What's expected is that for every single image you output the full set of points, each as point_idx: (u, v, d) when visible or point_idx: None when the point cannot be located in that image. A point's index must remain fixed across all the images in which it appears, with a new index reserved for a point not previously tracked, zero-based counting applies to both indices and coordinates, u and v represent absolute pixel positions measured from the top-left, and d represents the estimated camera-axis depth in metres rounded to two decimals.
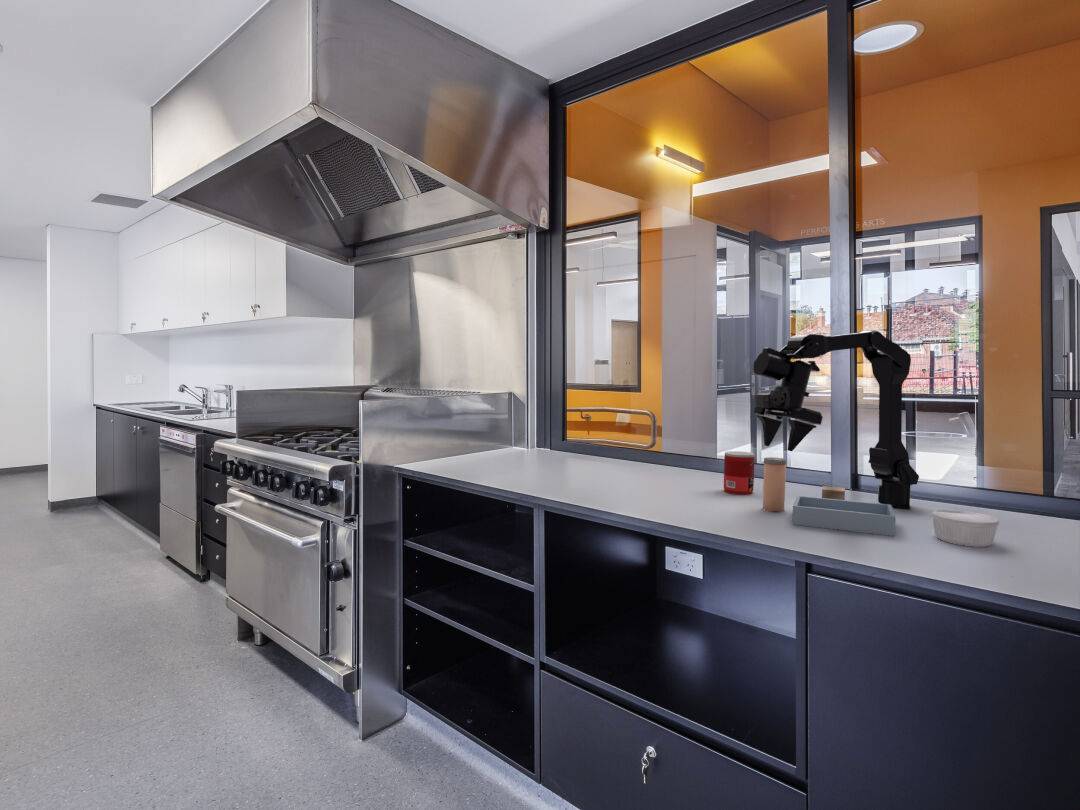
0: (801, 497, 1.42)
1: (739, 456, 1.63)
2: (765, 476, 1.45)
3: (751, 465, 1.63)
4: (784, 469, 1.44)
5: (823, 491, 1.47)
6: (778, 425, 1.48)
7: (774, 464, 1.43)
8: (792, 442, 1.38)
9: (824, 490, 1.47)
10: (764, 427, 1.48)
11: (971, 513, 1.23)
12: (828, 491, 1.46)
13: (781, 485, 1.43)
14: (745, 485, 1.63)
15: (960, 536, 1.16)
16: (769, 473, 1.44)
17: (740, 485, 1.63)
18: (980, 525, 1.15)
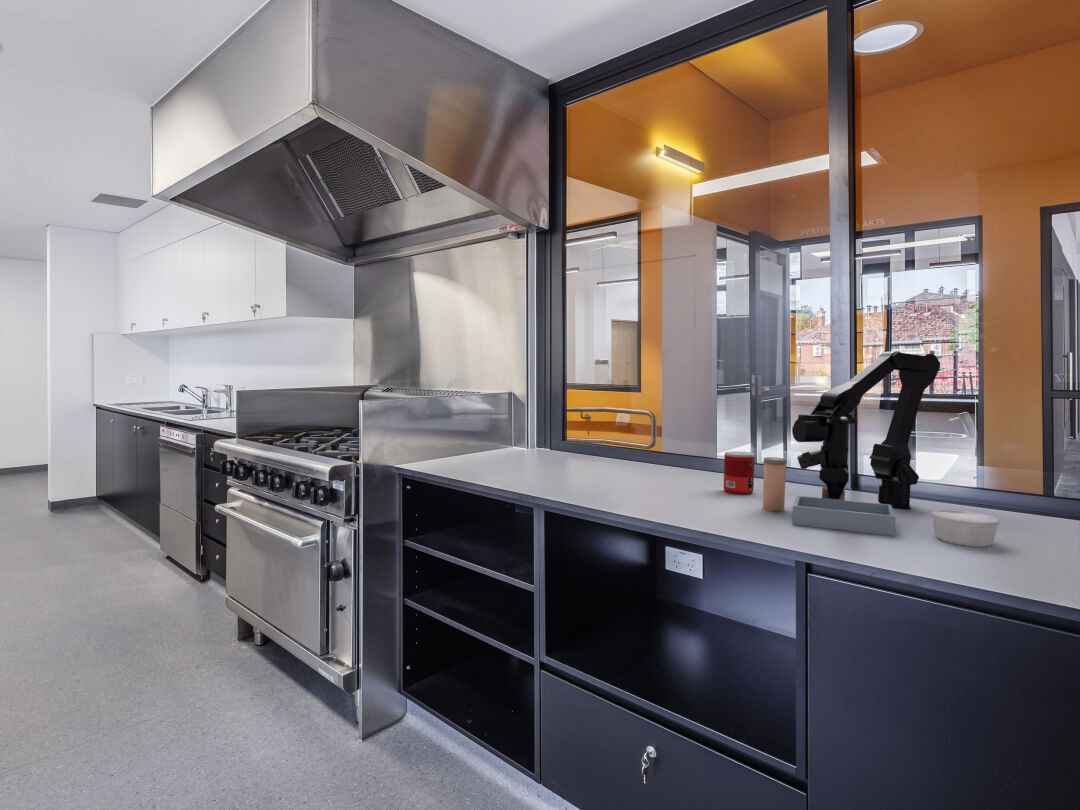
0: (801, 497, 1.42)
1: (739, 456, 1.63)
2: (765, 476, 1.45)
3: (751, 465, 1.63)
4: (784, 469, 1.44)
5: (823, 491, 1.47)
6: None
7: (774, 464, 1.43)
8: (831, 498, 1.45)
9: (824, 490, 1.47)
10: None
11: (971, 513, 1.23)
12: None
13: (781, 485, 1.43)
14: (745, 485, 1.63)
15: (960, 536, 1.16)
16: (769, 473, 1.44)
17: (740, 485, 1.63)
18: (980, 526, 1.15)
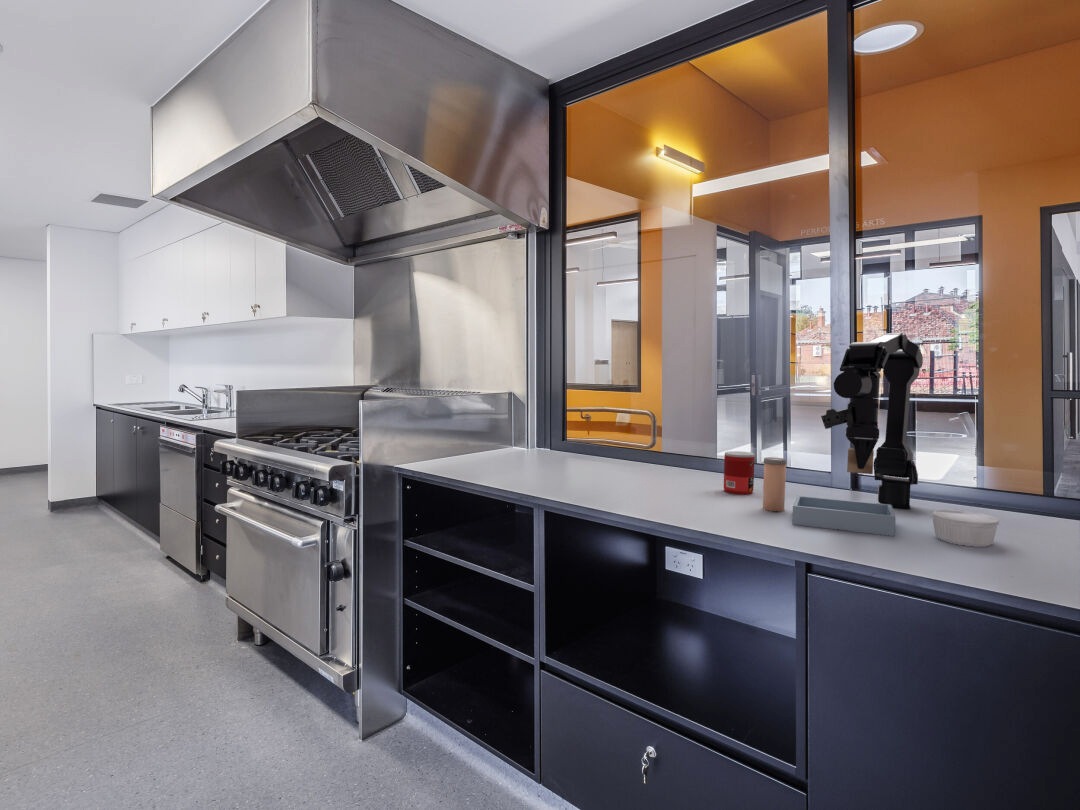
0: (801, 497, 1.42)
1: (739, 456, 1.63)
2: (765, 476, 1.45)
3: (751, 465, 1.63)
4: (784, 469, 1.44)
5: (849, 452, 1.33)
6: None
7: (774, 464, 1.43)
8: (858, 459, 1.31)
9: (850, 451, 1.33)
10: None
11: (971, 513, 1.23)
12: None
13: (781, 485, 1.43)
14: (745, 485, 1.63)
15: (960, 536, 1.16)
16: (769, 473, 1.44)
17: (740, 485, 1.63)
18: (980, 526, 1.15)
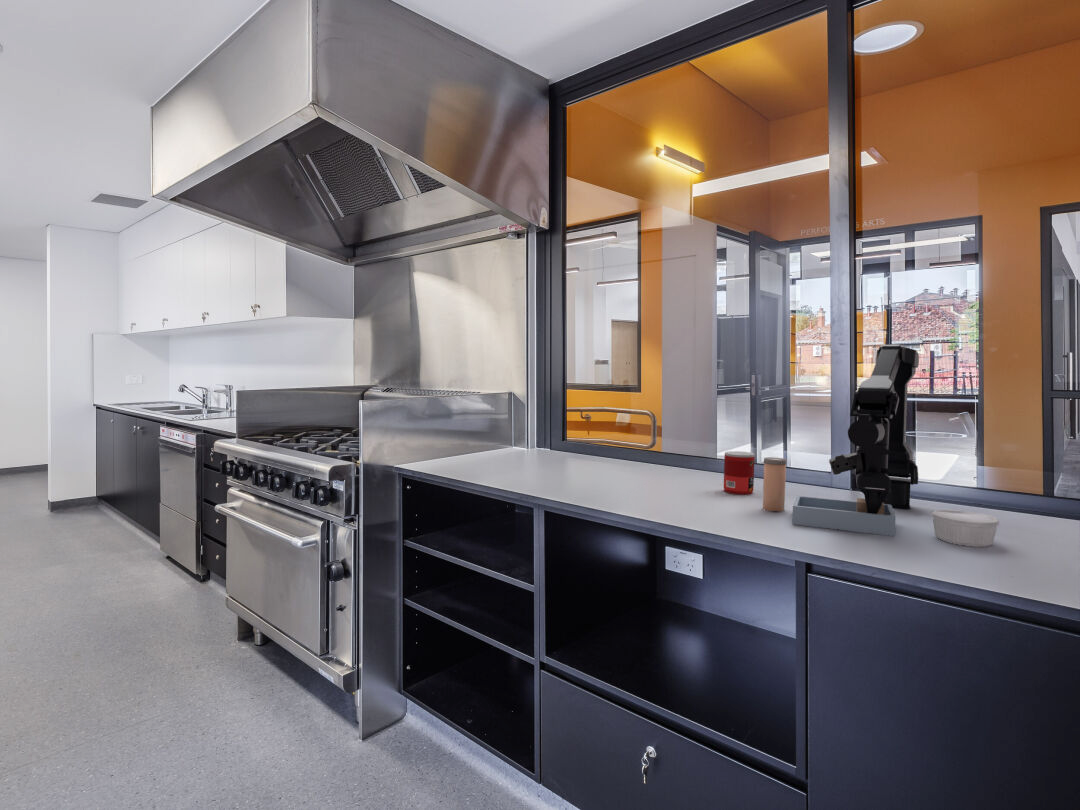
0: (801, 497, 1.42)
1: (739, 456, 1.63)
2: (765, 476, 1.45)
3: (751, 465, 1.63)
4: (784, 469, 1.44)
5: (859, 504, 1.29)
6: None
7: (774, 464, 1.43)
8: (869, 509, 1.26)
9: (860, 503, 1.29)
10: None
11: (971, 513, 1.23)
12: (864, 504, 1.29)
13: (781, 485, 1.43)
14: (745, 485, 1.63)
15: (960, 536, 1.16)
16: (769, 473, 1.44)
17: (740, 485, 1.63)
18: (980, 526, 1.15)
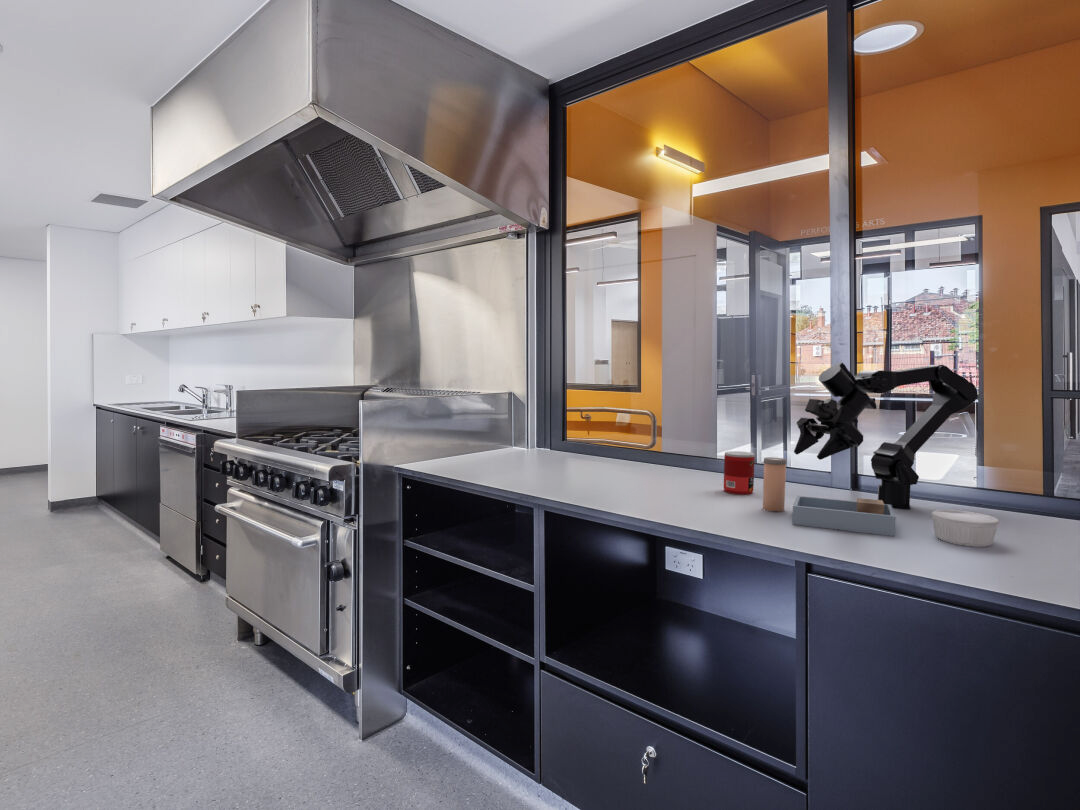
0: (801, 497, 1.42)
1: (739, 456, 1.63)
2: (765, 476, 1.45)
3: (751, 465, 1.63)
4: (784, 469, 1.44)
5: (859, 504, 1.29)
6: (814, 442, 1.52)
7: (774, 464, 1.43)
8: (824, 451, 1.41)
9: (860, 503, 1.29)
10: (801, 437, 1.52)
11: (971, 513, 1.23)
12: (864, 504, 1.29)
13: (781, 485, 1.43)
14: (745, 485, 1.63)
15: (960, 536, 1.16)
16: (769, 473, 1.44)
17: (740, 485, 1.63)
18: (980, 526, 1.15)
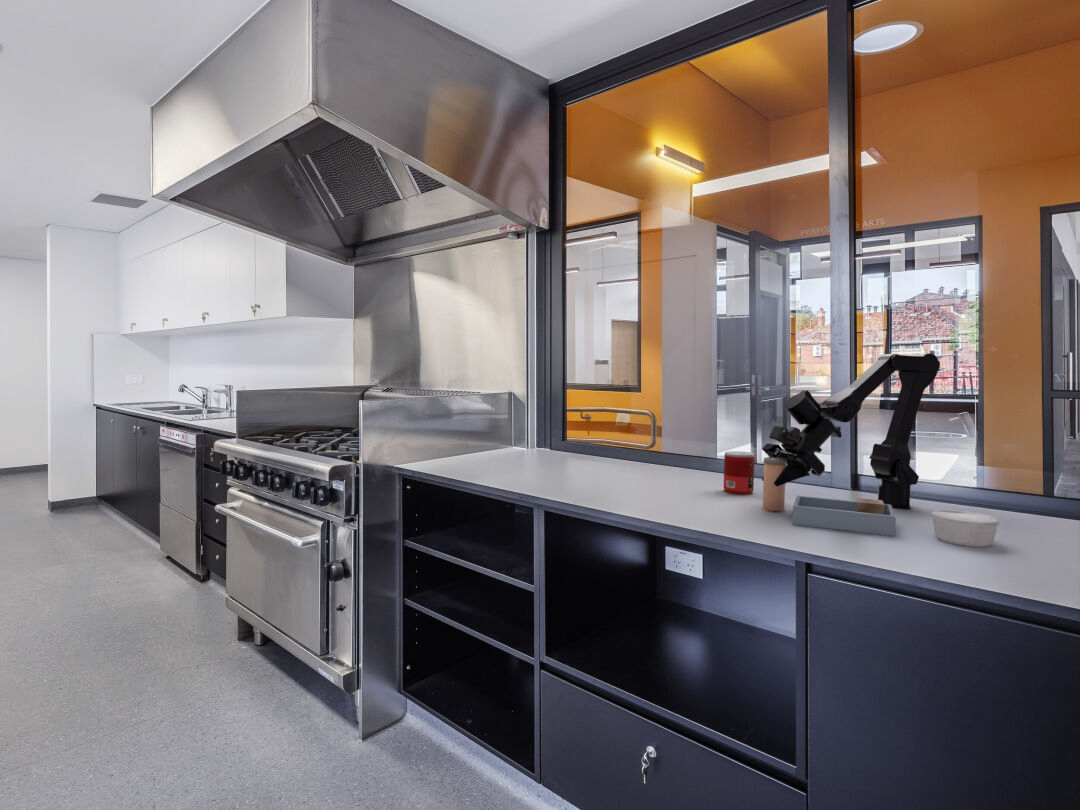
0: (801, 497, 1.42)
1: (739, 456, 1.63)
2: (765, 476, 1.45)
3: (751, 465, 1.63)
4: None
5: (859, 504, 1.29)
6: None
7: (774, 464, 1.43)
8: (781, 478, 1.42)
9: (860, 503, 1.29)
10: None
11: (971, 513, 1.23)
12: (864, 504, 1.29)
13: (781, 485, 1.43)
14: (745, 485, 1.63)
15: (960, 536, 1.16)
16: (769, 473, 1.44)
17: (740, 485, 1.63)
18: (980, 526, 1.15)
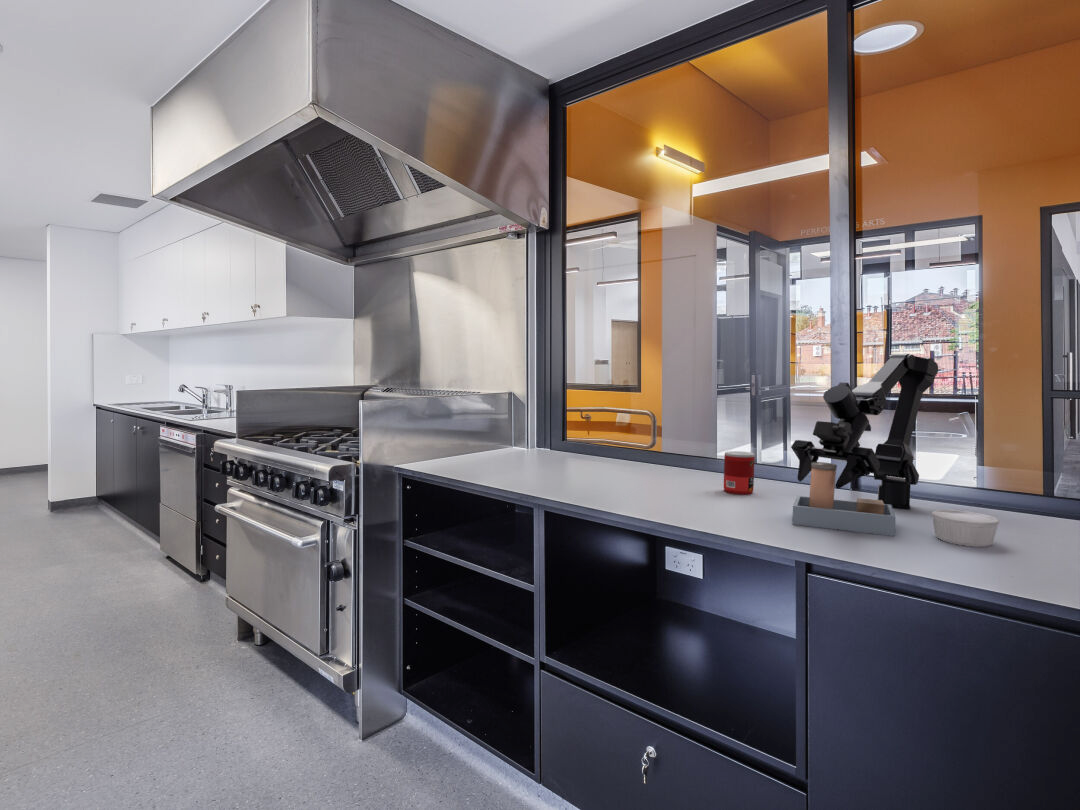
0: (801, 497, 1.42)
1: (739, 456, 1.63)
2: (816, 483, 1.33)
3: (751, 465, 1.63)
4: (835, 475, 1.33)
5: (859, 504, 1.29)
6: None
7: (828, 470, 1.31)
8: (843, 479, 1.29)
9: (860, 503, 1.29)
10: (802, 462, 1.39)
11: (971, 513, 1.23)
12: (864, 504, 1.29)
13: (833, 492, 1.32)
14: (745, 485, 1.63)
15: (960, 536, 1.16)
16: (822, 479, 1.32)
17: (740, 485, 1.63)
18: (980, 526, 1.15)
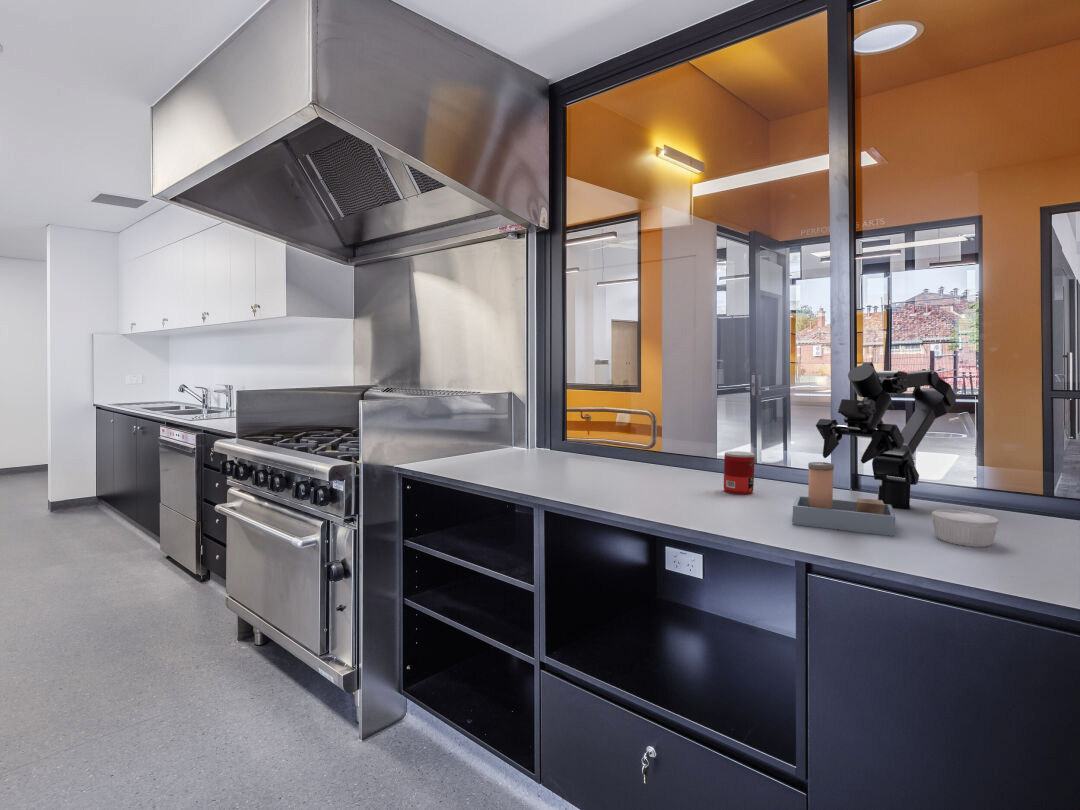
0: (801, 497, 1.42)
1: (739, 456, 1.63)
2: (814, 483, 1.33)
3: (751, 465, 1.63)
4: (832, 474, 1.33)
5: (859, 504, 1.29)
6: (836, 444, 1.45)
7: (825, 470, 1.31)
8: (868, 454, 1.34)
9: (860, 503, 1.29)
10: (827, 439, 1.44)
11: (971, 513, 1.23)
12: (864, 504, 1.29)
13: (832, 491, 1.32)
14: (745, 485, 1.63)
15: (960, 536, 1.16)
16: (820, 480, 1.32)
17: (740, 485, 1.63)
18: (980, 526, 1.15)
